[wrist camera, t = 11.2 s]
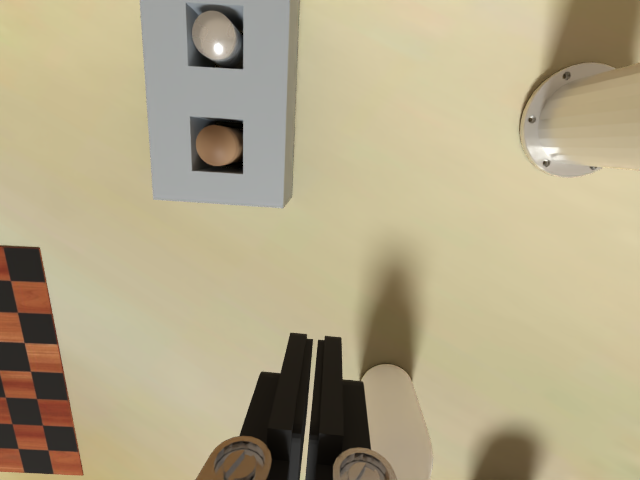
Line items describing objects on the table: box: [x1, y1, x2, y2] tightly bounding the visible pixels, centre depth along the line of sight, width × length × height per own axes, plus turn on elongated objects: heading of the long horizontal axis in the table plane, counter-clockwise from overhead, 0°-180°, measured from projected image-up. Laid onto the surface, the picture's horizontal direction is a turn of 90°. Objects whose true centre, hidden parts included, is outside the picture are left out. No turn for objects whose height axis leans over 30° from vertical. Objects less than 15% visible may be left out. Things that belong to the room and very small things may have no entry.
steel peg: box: [192, 11, 243, 69], centre depth 36 cm, size 4×4×8 cm
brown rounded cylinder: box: [196, 125, 243, 166], centre depth 39 cm, size 4×4×8 cm
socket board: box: [140, 0, 300, 208], centre depth 38 cm, size 14×22×8 cm, turn 177°
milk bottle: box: [361, 364, 433, 480], centre depth 42 cm, size 8×8×20 cm
